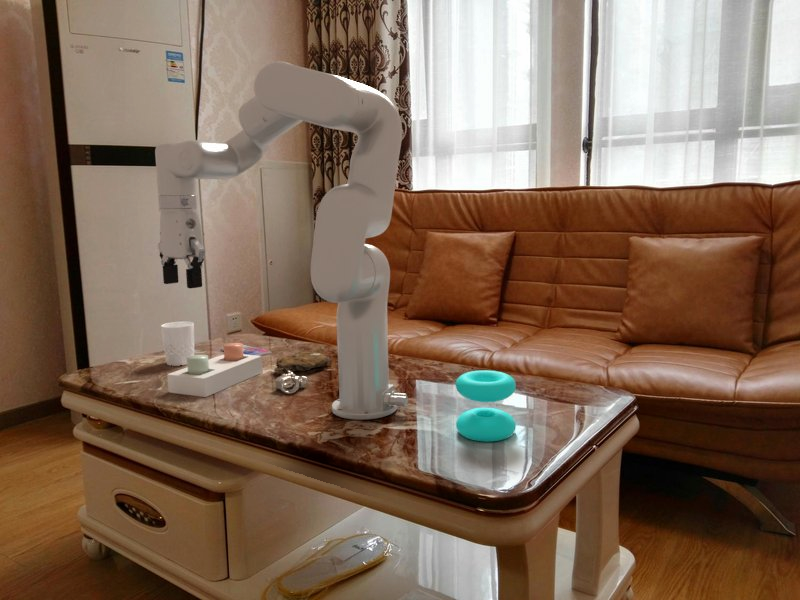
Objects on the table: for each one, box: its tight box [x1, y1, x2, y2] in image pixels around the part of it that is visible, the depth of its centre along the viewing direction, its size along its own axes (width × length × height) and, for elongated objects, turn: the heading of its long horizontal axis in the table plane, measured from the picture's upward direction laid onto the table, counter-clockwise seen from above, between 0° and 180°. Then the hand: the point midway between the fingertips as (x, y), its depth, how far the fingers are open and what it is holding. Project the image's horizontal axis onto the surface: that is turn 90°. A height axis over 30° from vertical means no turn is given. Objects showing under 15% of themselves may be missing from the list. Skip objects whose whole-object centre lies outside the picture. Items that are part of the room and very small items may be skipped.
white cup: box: [160, 320, 195, 367], centre depth 159 cm, size 8×8×10 cm
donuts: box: [455, 369, 517, 443], centre depth 106 cm, size 10×10×10 cm
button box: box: [166, 353, 264, 398], centre depth 141 cm, size 10×20×4 cm, turn 157°
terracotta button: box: [222, 342, 244, 362], centre depth 146 cm, size 4×4×4 cm
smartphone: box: [220, 344, 273, 357], centre depth 169 cm, size 7×1×15 cm
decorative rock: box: [273, 350, 332, 375], centre depth 151 cm, size 11×4×15 cm
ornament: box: [275, 371, 309, 395], centre depth 134 cm, size 8×7×4 cm
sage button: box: [186, 354, 209, 376], centre depth 135 cm, size 4×4×4 cm
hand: (182, 285), depth 133 cm, fingers open, 9 cm apart
